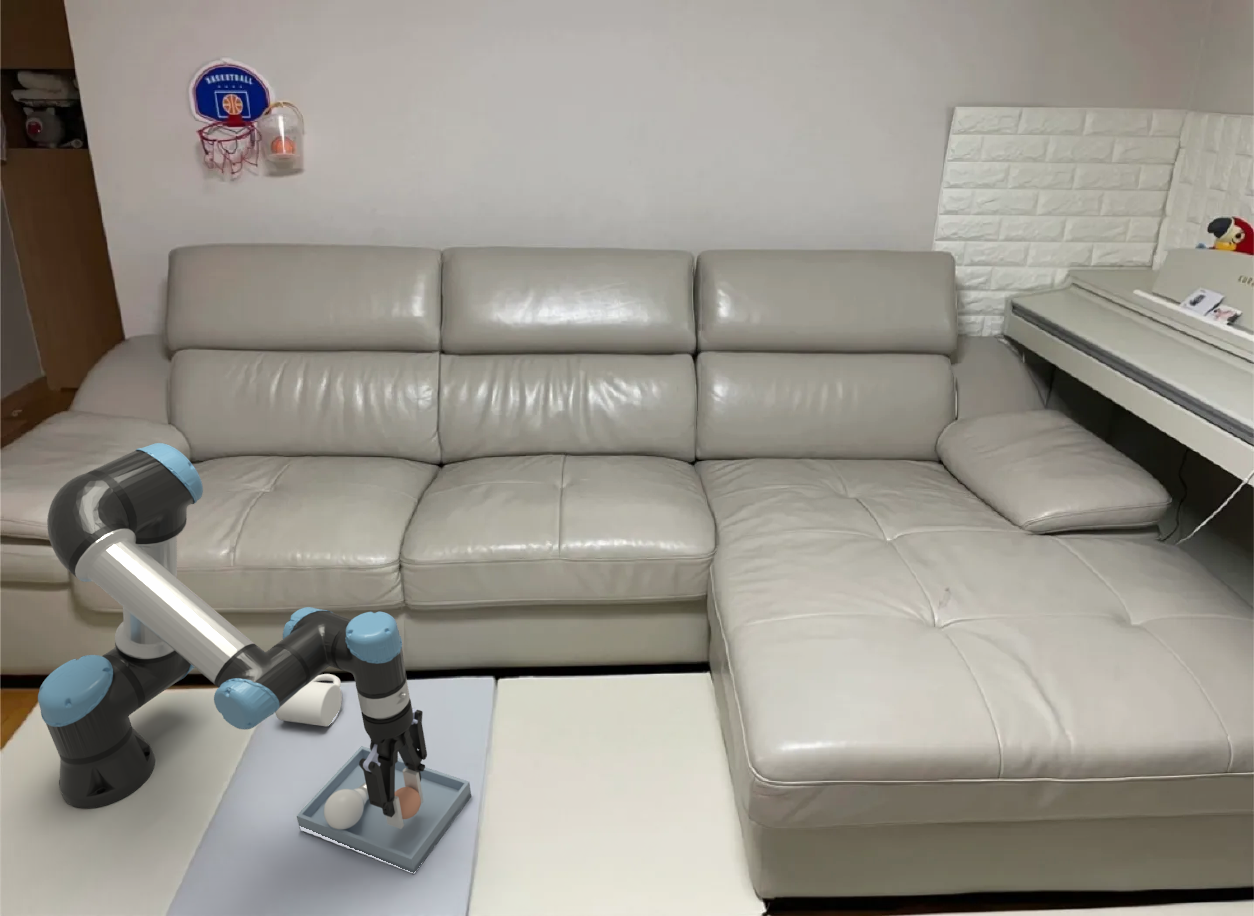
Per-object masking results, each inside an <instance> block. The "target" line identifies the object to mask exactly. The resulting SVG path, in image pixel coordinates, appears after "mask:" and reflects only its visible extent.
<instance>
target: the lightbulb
mask: <svg viewBox="0 0 1254 916" xmlns="http://www.w3.org/2000/svg"><path fill="white" fill-rule="evenodd" d="M368 799H369V796H368V791H367V786H366V783H364V784H362V785H361V786H360V787H359V788H356V789H353V790H352V789H341V790H338V791H336V792H334V793H333V794H332V795H331V796H330V797H329V798H328V799H327V801H326V803H325V806H324V817H325V820H326V822H327V823H328V824H329V825H330V826H331V827H332V828H335V829H340V830H341V829H342V830H345V829H348V828H351V827H353V826H354V825H355V824H356V823H357V822H358V821H359V820H360V818H361V816H362V814H363V810H364V805H365V803H366V801H367V800H368Z"/></svg>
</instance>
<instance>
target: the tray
mask: <svg viewBox="0 0 1254 916" xmlns="http://www.w3.org/2000/svg"><path fill="white" fill-rule="evenodd" d="M370 752H371V750H370V748H369V747H366V746H363V745H360V746H359V748H358V749H357V750H356V752H354V753H353V755H352V756H351V757H350V758H348V760H346V762H345V763H344V764H343V765H342V766H341V767H340V768H339V770H337V772H336V773H335V774H333V775H332V777H331V778H330V779H329V780H328V781H327V782H326V784H325V785H323V786H322V788H321V789H320V790H319V791H318V792H317V793H316V794H315V795H314V797H312V798H311V800H310V801H308V803H307V804H305V806H304V807H303V808H302V809H301V810H300V812H298V813H297V814H296V819H297V823H298V826H301V827H304V828H306V829H309V830H312V831H313V832H316V833H318V834H321V835H322V836H325V837H328V838H330V839H332V840H335V841H337V842H338V843H342V844H344V845H347V846H349V847H350V848H354V849H355V850H359V851H362V852H364V853H366V854H368V855H372V856H374V857H376V858H379V859H381V860H383V861H386V862H388V863H391V864H393V865H396V866H398V867H400V868H402V869H405V870H408V871H410V872H413V873H414V872H415V871H416V870H417V869H418V868H419V869H420V867H421V866H422V865H421V863H422V862H423V861H424V862H425V860H426V859H427V858H428V856H429V855H430V854H429V853H432V851H433V850H434V848H435V847H436V845H437V844H438V843H439V841H440V840H441V839H442V837H443V836H444V834H446V832H447V830H448V829H449V827H450V826H451V825H452V823H454V820H455V819H456V818H457V816H458V815H459V814H460V812H461V811H462V810H463V808H464V807H465V805H466V804H467V803H468V801H470V799H471V797H472V791H471V785H470V781H468V780H466V779H462V778H460V777H457V776H454V775H450V774H447V773H445V772H441V771H438V770H435V769H432V768H430V767H427V766H425V769H424V771H423V772H421V771H420V774H421V782H420V783H421V789H422V795H423V800H424V801H423V802H422V803H421V805H420V808H419V810H418V812H417V813H416V814H415V815H414V816H413V817H411V818H409V819H403V823H404V826H403V827H402V829H399V828H397V827H394V826H391V825H388V824H387V819H386V815H384V814H383V810H382V808H380V807H377V806H374V805H372V804H370V801H369V799H368V800H367V801H366V803H365V805H364V810H363V814H362V816H361V818H360V820H359V821H358V822H357V823H356V824H355V825H354V826H353V827H351V828H348V829H345V830H342V829H341V830H340V829H335V828H332V827H331V826H330V825H329V824H328V823H327V822H326V820H325V817H324V806H325V803H326V801H327V799H328V798H329V797H330V796H331V795H332V794H333V793H334V792H336V791H338V790H341V789H352V790H353V789H356V788H359V787H360V786H361V785H362V784H364V783H366V781H365V776H364V771H363V770H362V768H361V767H360V766H359V762H360V760H361V759H362V758H364V759H367V757H368V756H369V754H370ZM405 768H407V769H408V767H406V766H405V764H404V762H403V760H402V758H399V757H398V762H397V763H396V764H395V791H397V790H398V789H400V788H402V787H405V782H404V777H403V770H404V769H405ZM434 846H435V847H434ZM428 854H429V855H428ZM426 857H427V858H426ZM425 858H426V859H425ZM424 859H425V860H424ZM424 862H423V863H424ZM423 863H422V864H423ZM420 865H421V866H420ZM419 866H420V867H419ZM419 869H418V870H419ZM418 870H417V871H418ZM417 871H416V872H417Z"/></svg>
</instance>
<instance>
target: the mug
mask: <svg viewBox="0 0 1254 916" xmlns="http://www.w3.org/2000/svg"><path fill="white" fill-rule="evenodd" d="M321 681H322V682H321ZM323 681H324V682H323ZM325 681H329V682H332V683H329V682H328V683H327V682H325ZM341 683H342V682H341V679H340V678H339V677H338V676H336V675H335V674H330V673H324V674H323V673H321V674H319V675H318V676H317V677H315V678H314V679H313V680H312V681H311V682H309V683H308V684H307V685H305V686H304V687H303V688H301V689H300V690H299V691H298V692H297V693H296V694H295V695H293V696H292V697H291V698H290V699H289V700H288V701H287V702H285V703H284V704H283V705H282V706H281V707H280V708H279V709H278V710H277V711H276V712H275V713H274V714H275V717H276V718H277V719H278V720H279V721H285V722H291V723H297V724H306V725H314V726H320V727H329V726H328V725H329V724H330V723H331V722H332V720H333V718H334V717H335V716H336V714H337V713H338V711H339V710H341V707H342V701H343V695H342V690H341V686H342V685H341ZM339 712H340V711H339Z"/></svg>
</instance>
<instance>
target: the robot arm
mask: <svg viewBox="0 0 1254 916" xmlns="http://www.w3.org/2000/svg"><path fill="white" fill-rule="evenodd" d="M203 493H204V487H203V481H202V479H201V477H200V475H199V472H198V470H197V468H195V466H194V465H193V463H192V462H191V461H190V460H189V459H188V457H187V456H186V455H184V453H183V452H181V451H180V450H179V449H177V448H175V447H174V446H171V445H169V444H166V443H162V442H156V443H152V444H150V445H149V444H148V445H147V446H144V447H141V448H140V447H138V448H136V449H135V450H134V451H131V452H129V453H126V454H125V455H123V456H121V457H118V458H116V459H114V460H112V461H110V462H107V463H106V464H105V463H104V464H103V465H101V466H98V467H96V468H94V469H92V470H90V471H88V472H85V473H82V474H80V475H77V476H75V477H74V478H72V479H70V480H69V481H66V483H65V484H63V486H62V487H60V488H59V490H58V491H57V493H56V494H55V495H54V497H53V499H52V500H51V503H50V506H49V510H48V514H47V533H48V540H49V542H50V545H51V547H52V549H53V552H54V554H55V556H56V557H57V559H58V561H59V562H60V563H61V565H63V566H64V568H65V569H67V571H69V573H70V574H72V575H73V576H74V577H76V578H77V580H78V581H81V582H83V583H87V582H88V583H89V582H93V583H94V584H95V585H96V586H98V587H100V589H102V591H104V592H105V593H106V594H107V595H108V596H110V598H112V599H113V600H114V601H115V602H117V603H118V605H120V606H122V616H123V621H122V622H121V623H119V625H118V627H117V628H116V631H115V634H114V646H115V647H114V648H112V649H110V650H109V651H107V652H106V653H105V654H103V655H98V654H86V655H83V656H81V657H80V658H78V659H77V658H74V659H70V660H68V661H66V662H65V663H63V664H61V665H60V666H58V667H57V668H55V669H54V670H52V672H50V674H48V676H47V677H46V678H45V679H44V681H43V682H42V684H41V685H40V687H39V692H38V694H37V702H38V705H39V708H40V714H41V719H42V720H43V721H44V724H45V726H46V727H47V729H48V732H49V734H50V737H51V739H52V742H53V745H54V746H55V748H56V751H57V753H58V756H59V759H60V763H59V764H60V765H59V780H58V786H59V791H60V793H61V795H62V798H63V799H64V801H65V802H66V804H69V805H70V806H72V807H74V808H80V809H94V808H99V807H103V806H106V805H110V804H113V803H115V802H118V801H119V800H122V799H124V798H126V797H128V796H129V795H130V794H132V793H134V792H135V791H136V790H137V789H139V788H140V787H141V786H142V785H143V784H145V782H146V781H147V780H148V779H149V777H150V776H151V774H152V773H153V771H154V768H155V764H156V759H155V755H154V752H153V748H152V746H151V745H150V744H149V742H147V740H145V738H143V736H141V735H140V733H138V732H137V731H136V730H135V729H134V727H133V725H132V722H131V720H130V717H129V716H131V715H132V714H133V713H134V712H136V711H137V710H139V709H140V708H141V707H143V706H144V705H146V704H147V703H148V702H150V701H151V700H153V699H154V698H155V697H157V696H158V695H160V694H161V693H163V692H164V691H166V690H167V689H169V688H170V687H171V686H173V685H174V684H175V683H177V682H180V681H181V680H182V679H184V678H185V677H186V676H187V675H188V674H189V673H190V672H191V671H193V670H194V669H196V670H197V671H198V672H199V673H201V674H202V675H203V676H204V677H206V679H208V680H209V681H210V682H211V683H213V685H215V687H217V689H216V690H215V693H214V695H213V701H214V705H215V708H216V710H217V711H218V713H220V714H221V716H222V718H223V719H224V721H226V723H228V724H229V725H230V726H232V727H233V728H236V729H239V730H250V729H253V728H255V727H256V726H258V725H259V724H260V723H262V722H263V721H265V720H266V719H268V717H270V716H272V715H274V714H275V712H276V711H277V710H278V709H279V708H280V707H281V706H282V705H283V704H284V703H285V702H287V701H288V700H289V699H290V698H291V697H292V696H293V695H295V694H296V693H297V692H298V691H299V690H300V689H301V688H303V687H304V686H305V685H307V684H308V683H309V682H311V681H312V680H313V679H314V678H315V677H317V676H318V675H321V674H322V673H323V672H324V671H325V670H326V669H327V668H329V667H331V668H334V669H336V670H337V669H338V670H340V671H345V672H348V673H351V674H352V675H353V677H354V682H355V687H356V688H355V689H356V692H357V697H358V698H357V699H358V702H359V708H360V711H361V718H362V722H363V723H362V724H363V727H364V730H365V732H366V733H367V735H368V737H369V739H370V745H369V747H370V748H369V749H370V750H371V752H370V754H369V756H368V757H367V759H364V758H362V759H361V760H360V762H359V766H360V767H361V768H362V770H363V771H364V776H365V781H366V786H367V791H368V796H369V801H370V804H372V805H374V806H377V807H380V808H382V810H383V814H384V815H386V819H387V824H388V825H391V826H394V827H397V828H399V829H402V827H403V826H404V823H403V818H402V813H401V807H400V802H399V797H398V796H395V764H396V763H397V762H398V758H399V756H400V759H402V760H403V762H404V764H405V766H406V767H408V769H407V768H405V769H404V770H403V777H404V782H405V787H411V788H413V789H415V790H416V791H417V792H418V793H419V795H420V799H421V803H422V802H423V801H424V800H423V795H422V789H421V783H420V782H421V774H420V771H421V772H423V771H424V769H425V767H426V764H423V763H422V762H423V761H425V760H426V759H427V757H428V752H427V745H426V741H425V735H424V734H425V733H424V728H423V710H420V709H417V708H415V707H412V706H413V705H412V701H411V700H412V699H411V697H410V691H409V685H408V679H407V673H406V666H405V665H406V664H405V661H404V659H405V658H404V653H403V639H402V636H401V635H400V630H399V627H398V622H397V620H396V619H395V618H394V617H393V616H392V615H390V613H387V612H383V611H380V610H379V611H377V612H373V611H367V612H364V613H360V614H359V615H357V616H355V617H353V618H352V619H351V618H349V617H345V616H342V615H340V614H337V613H335V612H333V611H330V610H329V609H328V610H327V609H321V608H316V607H312V606H307V607H301V608H300V609H298V610H296V611H295V612H293V613H292V614H291V615H290V619H289V620H288V621H287V622H286V623H285V625H284V628H283V630H282V639H281V640H280V641H278V642H277V643H276V644H274V645H273V646H272V647H270V649H268V650H267V651H264V650H263V649H262V648H261V647H260V646H258V645H257V644H256V643H254V642H253V641H252V640H251V639H250V638H249V637H247V636H246V635H245V634H244V633H243V632H241V631H240V630H239V629H238V628H237V627H236V626H234V625H233V624H232V623H231V622H230V621H228V620H227V618H225V617H224V616H222V615H221V614H220V613H219V612H218V611H216V610H215V609H214V608H213V607H212V606H211V605H209V603H207V602H206V601H205V600H204V599H202V598H201V597H200V596H199V595H197V594H196V593H195V592H194V591H192V590H191V589H190V588H189V587H188V586H187V585H185V584H184V583H183V582H182V581H181V580H180V579H178V552H177V551H178V550H177V549H178V548H177V547H178V546H177V545H178V538H177V537H178V536H179V535H181V533H183V531H184V530H185V527H186V525H187V518H188V517H187V515H188V514H187V513H188V511H187V509H188V507H189V506H190V505H195V504H196V503H197V502H198V501H199V500H200V499H201V498H202V497H203V495H204V494H203Z"/></svg>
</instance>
